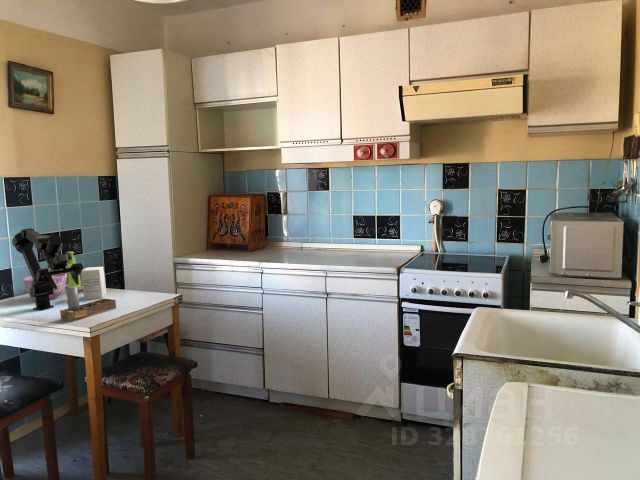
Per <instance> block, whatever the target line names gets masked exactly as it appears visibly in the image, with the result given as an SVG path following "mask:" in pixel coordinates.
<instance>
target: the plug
mask: <svg viewBox="0 0 640 480" xmlns="http://www.w3.org/2000/svg"><path fill="white" fill-rule="evenodd" d="M65 291H66V301H67V309H68V310H69V311H77V310H80V307H79V305H80V299H79V291H78V287H77V286H71V287H69V286H68V287H65Z"/></svg>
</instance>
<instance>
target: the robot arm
mask: <svg viewBox="0 0 640 480" xmlns="http://www.w3.org/2000/svg"><path fill="white" fill-rule="evenodd" d="M11 243H12V246H13V247H14V248H15V250H16V251H17V252H18V253H20V254H21V255H22V257H23V259H24V261H25V264H26V266H27V269H28V271H29V274H30V276H32V278H33V280H32V284H31V286H32V287H31V290H30V295H29V296H30V298H33V299H34V300H35V307H33V309H32V310H37V311H43V310H46V309H51V308H54V305H51V300H50V299H49V295H50V294H53V288H54V289H57V286H56V284H55V282H54V280H53V279H52V276H51V275H56V274H57V275H58V274H64V273H66V274H68V273H69V272H70V274H71V275H72V278H73V280H74V281H75V283H76V284H77V285H79V279H78V275H79V274H80V275H81V271H82V270H83V269H84V265H83V263H82V262H76V263H75V264H72V265H71V267H70V268H67V264H68V263H69V261H70V260H71V259H72V256H71V254H70V253H67V252H66V253H65V254H59V253H60V252H61V250H62V246H63V244H64V238H63V237H62V236H60V235H56V233H50V234H49V235H43V234H40V232H37V231H36V230H35V229H34V228H31V227H30V228H23V229H20V232H18V233H16V234H15V235H14V236H13V238H12V241H11ZM33 248H35V249H36V250H37V251H38V252H41V251H43V252H42V259H43V260H45V261H46V264H47V267H45V268H41V266H40V263H39V261H38V259H37V256H36V254H35V252H34V249H33ZM49 269H50V270H49Z"/></svg>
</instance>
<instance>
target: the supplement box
mask: <svg viewBox="0 0 640 480" xmlns="http://www.w3.org/2000/svg"><path fill="white" fill-rule="evenodd" d="M80 275H81V276H82V283H81V285H82V284H83V286H82V290H83V291H82V292H83V293H82V294H83V298H84V299H83V300H84V301H86V300H88V301H89V300H100V299H104V298H105V297H106V295H107V288H106V287H107V286H106V278H105V271H104V266H93V267H92V266H91V267H85V268H83V269H82V271H81V274H80ZM81 276H80V277H81Z"/></svg>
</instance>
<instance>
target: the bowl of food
mask: <svg viewBox="0 0 640 480" xmlns="http://www.w3.org/2000/svg"><path fill="white" fill-rule="evenodd" d="M51 276H52V279H53V280H54V282H55V284H56V286H57V289H54V288H53V294H50V295H49V299H50V301H51V300H53V299H56V298H58V297H59V296H60V295H61V294H63V293H64V291H66V285H67V284H66V283H67V277H68V273H64V274H58V275H57V274H56V275H51ZM32 280H33V278H32V276H31V275H30V276H29V275H28V276H26V277H24V278H23V279H22V281H23V284H24V285H25V288H26V291H27V293H28V295H29V296H30V290H31V287H32V286H31V284H32Z"/></svg>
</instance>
